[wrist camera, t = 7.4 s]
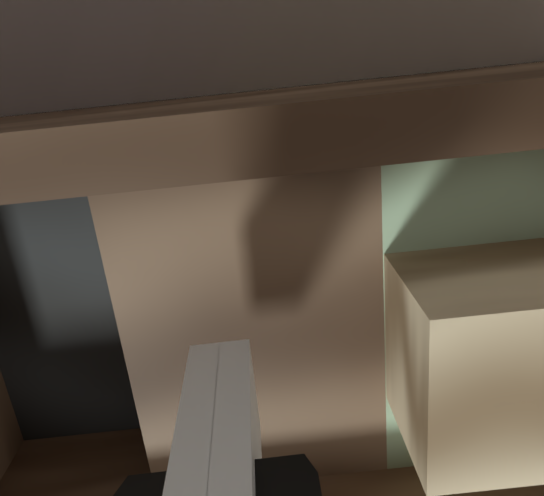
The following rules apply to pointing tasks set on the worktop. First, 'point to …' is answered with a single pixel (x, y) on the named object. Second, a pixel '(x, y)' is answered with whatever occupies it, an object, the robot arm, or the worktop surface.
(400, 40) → the worktop surface
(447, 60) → the worktop surface
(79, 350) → the trap track
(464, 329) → the maple block
